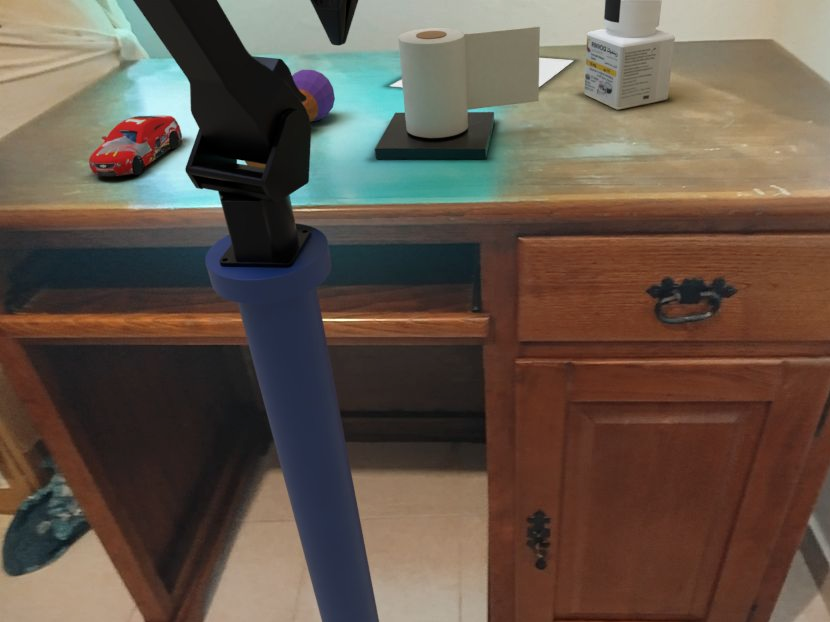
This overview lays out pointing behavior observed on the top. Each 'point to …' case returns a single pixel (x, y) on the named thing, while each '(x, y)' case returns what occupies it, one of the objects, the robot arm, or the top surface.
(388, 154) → the holder
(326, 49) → the top surface
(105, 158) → the race car
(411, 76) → the towel roll
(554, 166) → the top surface
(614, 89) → the container
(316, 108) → the kendama
